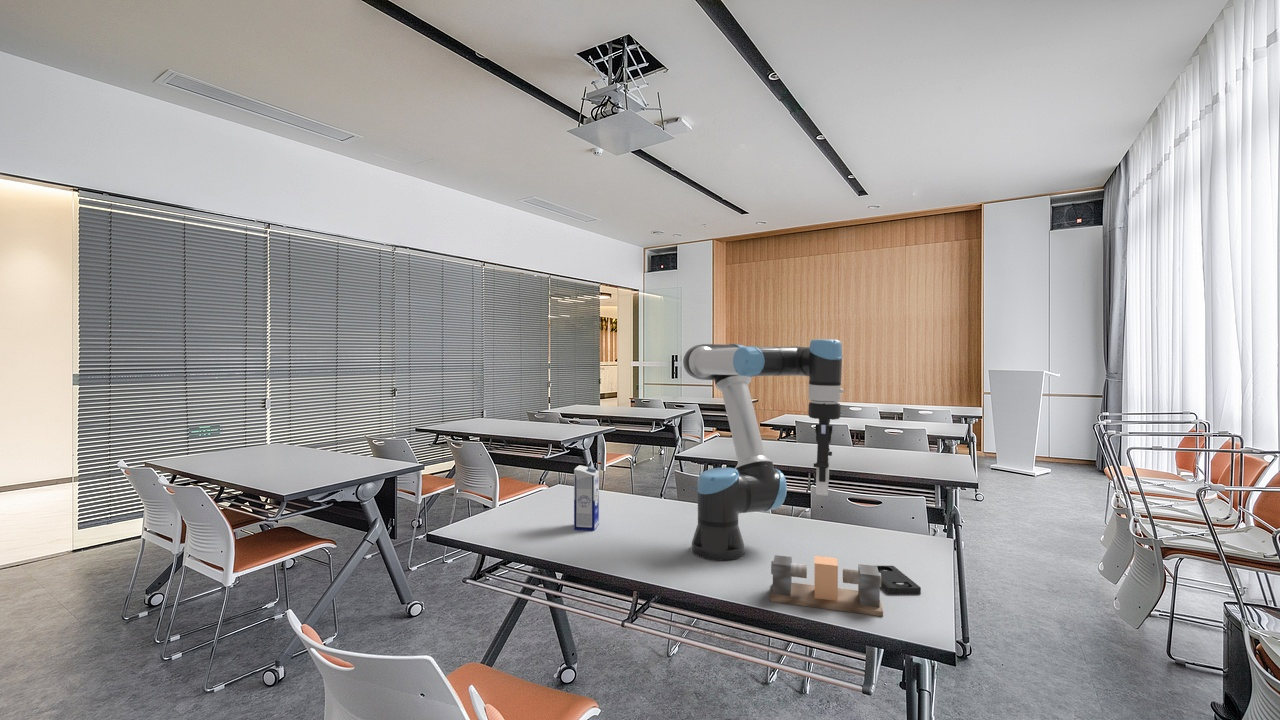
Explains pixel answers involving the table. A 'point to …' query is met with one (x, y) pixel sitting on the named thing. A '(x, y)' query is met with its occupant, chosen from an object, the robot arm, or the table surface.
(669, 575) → the table surface
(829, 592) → the coupler block
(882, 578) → the vhs tape
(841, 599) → the shaft bench
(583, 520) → the milk carton
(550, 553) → the table surface
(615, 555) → the table surface
